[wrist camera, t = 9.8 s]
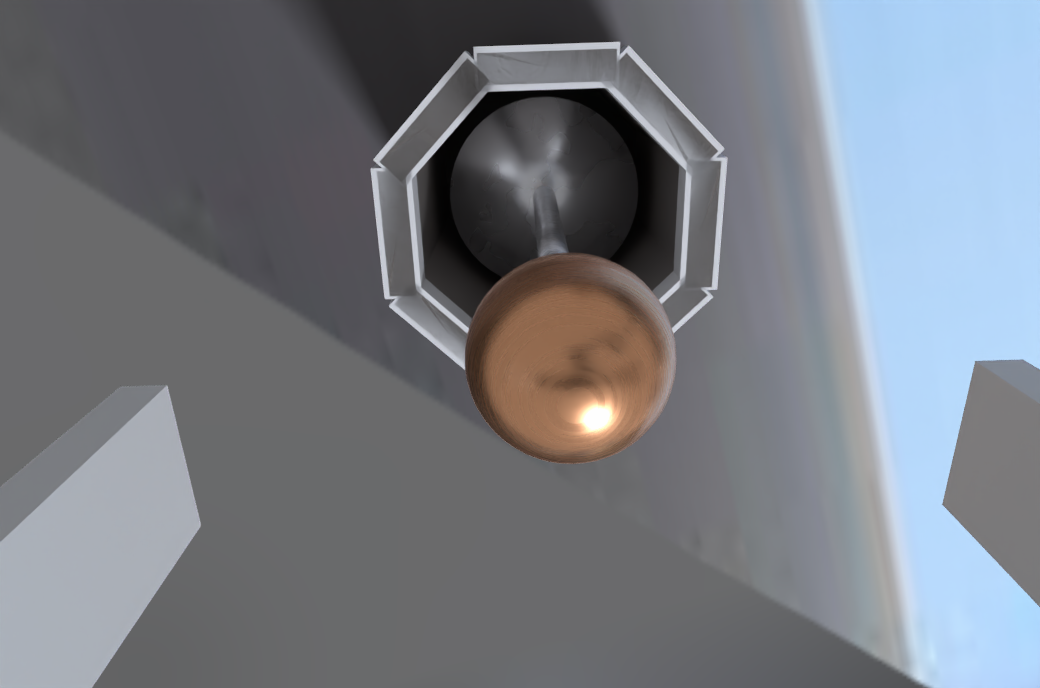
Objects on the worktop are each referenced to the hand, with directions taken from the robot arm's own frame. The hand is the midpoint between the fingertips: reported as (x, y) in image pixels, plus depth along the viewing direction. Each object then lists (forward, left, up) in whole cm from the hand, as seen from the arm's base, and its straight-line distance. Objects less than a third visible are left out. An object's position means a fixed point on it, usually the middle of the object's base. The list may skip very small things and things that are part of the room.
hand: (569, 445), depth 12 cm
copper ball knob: (0, 0, -22) cm, 22 cm away
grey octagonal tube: (+2, 0, -29) cm, 29 cm away
